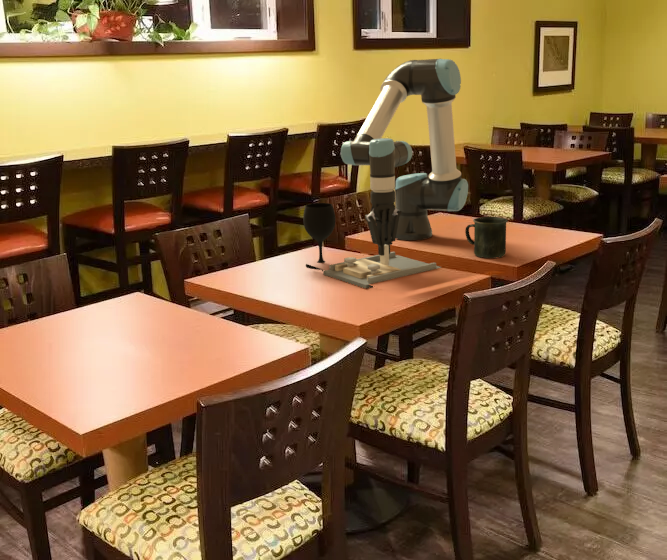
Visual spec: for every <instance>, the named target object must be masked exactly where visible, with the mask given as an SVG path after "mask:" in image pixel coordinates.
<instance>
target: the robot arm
mask: <svg viewBox="0 0 667 560" xmlns="http://www.w3.org/2000/svg"><path fill="white" fill-rule="evenodd" d="M461 84H462V78H461V73H460V69H459V67H458V65H457V64H456V62H455V61H454V60H453V59H449V58H448V59H445V58H444V59H443V58H430V59H429V58H428V59H412V60H411V59H410V60H407V61H404V62H403V63H400V65H397V66H396V67H395V68H394V69H392V71H390V72H389V74H387V76H386V77H385V78H384V80H383V81H382V83H381V85H380V88H379V89H380V93H379V94H378V96H377V99H375V102H374V104H373V106H372V108H371V110H369V113H368V114H367V116H366V118H365V120H364V121H363V123H362V126H361V127H360V129H359V131H358V133H357V134H356V136H355V138H354V139H353V140H348V141H344V142H343V144H342V145H341V148H340V157H341V159H342V160H341V161H342V162H343V163H344V164H346V165H349V166H369V176H370V177H369V179H370V180H369V183H370V186H369V187H370V190H371V191H370V203H371V208H370V213H368V214H365V215H364V219H365V221H366V222H367V225H368V229H369V233H370V238H371V241H372V242H371V243H372V244H375V245H377V247H378V248H377V249H378V251H377V252H378V253H377V255H380V263H381V264H384V265H389V254H390V252H391V246H392V245H393V244H394V243H393V242H396V240H401V241H420V240H425V239H430V238H431V237H433V229H432V226H431V223H430V219H429V217H428V210H431V211H443V212H459V211H461V210H462V209H463V208H464V206H465V204H466V202H467V197H468V192H469V182H468V181H467V179H465V178H462V172H461V171H460V170H459V169H457V158H456V145H455V131H454V119H453V118H454V116H453V105H452V104H453V102H454V101H455V99H456V95H457V94H459V93H460V92H461V91H460V90H461ZM413 95H414V96H421V97H420V98H421V103H422V104H424V105H425V106H426V113H427V114H426V115H427V125H428V128H427V129H428V139H429V148H430V149H429V150H430V158H431V159H430V160H431V172H430V173H429V174H428V173H426V172H420V173H419V172H417V173H411V174H406V175H401V176H399V177H397V178H396V176H395V174H396V173H395V168H397V167H400V166H401V167H402V166H404V165H405V164H407V163H409V161H411V159H412V157H413V149H412V146H411V145H410V144H409V143H408V142H407V141H405V140H396V141H394V140H393V139H392V138H383V136H384V134H385V133H386V130H387V128H388V127H389V125H390V124H391V122H392V119H393V118H394V115H395V114H396V112H397V110H398V108H399V106H400V104H402V103H404V102H405V101H406V99H407V98H408V97H409V96H413Z"/></svg>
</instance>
